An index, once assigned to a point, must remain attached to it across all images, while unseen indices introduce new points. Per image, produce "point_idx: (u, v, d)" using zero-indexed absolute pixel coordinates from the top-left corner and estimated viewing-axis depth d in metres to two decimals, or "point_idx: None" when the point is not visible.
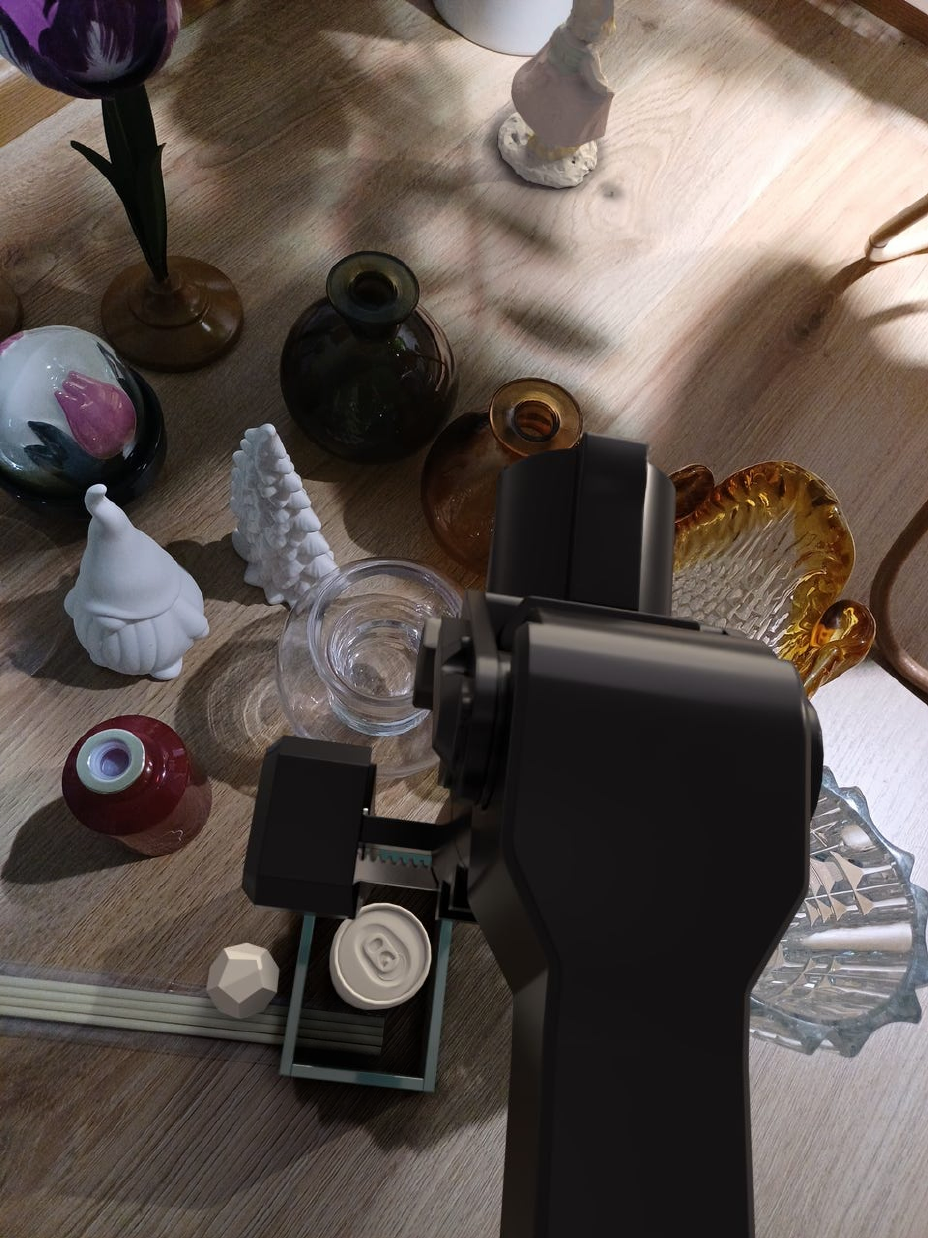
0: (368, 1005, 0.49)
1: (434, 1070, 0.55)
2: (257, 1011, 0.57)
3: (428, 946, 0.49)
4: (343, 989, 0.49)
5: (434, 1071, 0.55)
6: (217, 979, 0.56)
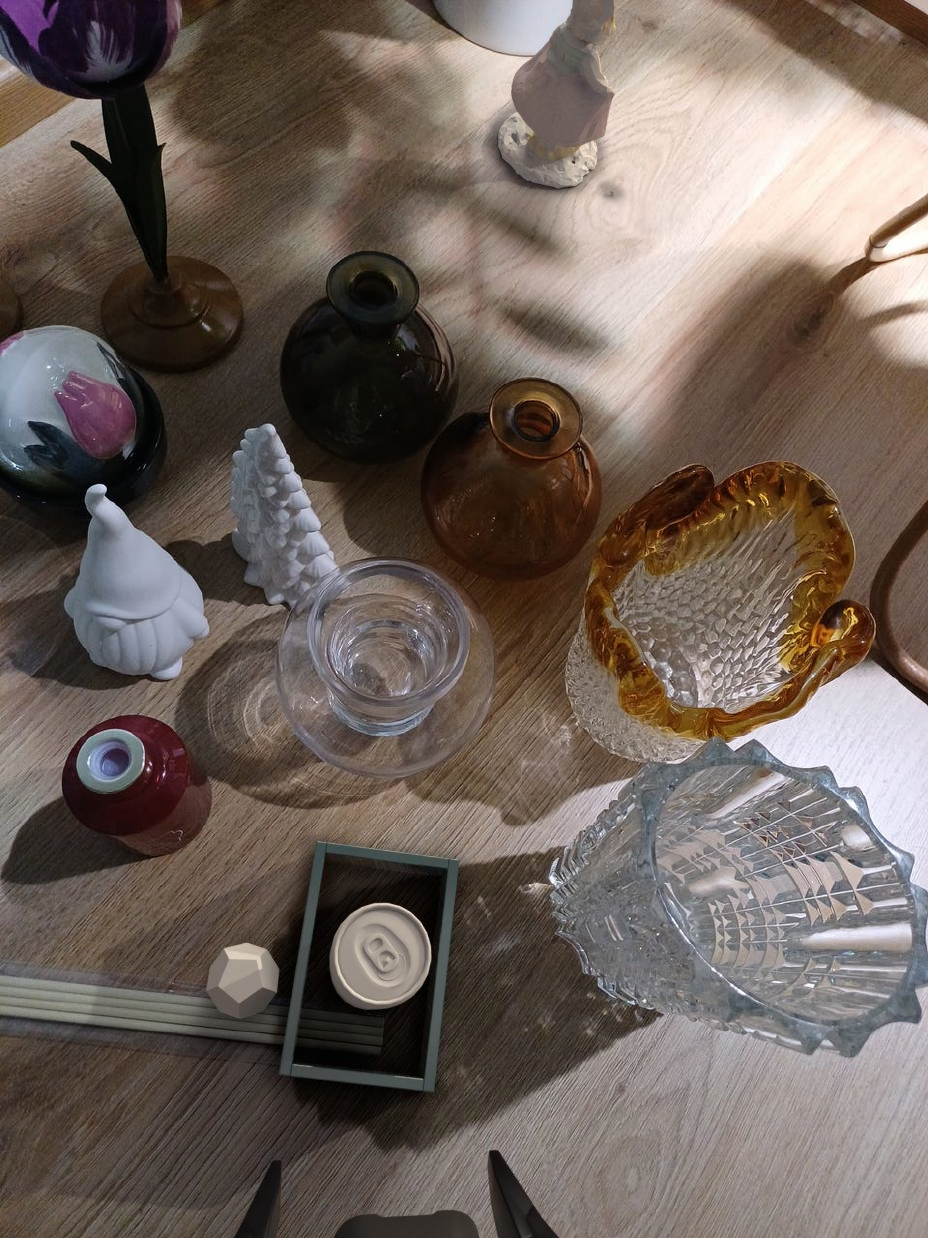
0: (368, 1005, 0.49)
1: (434, 1070, 0.55)
2: (257, 1011, 0.57)
3: (428, 946, 0.49)
4: (343, 989, 0.49)
5: (434, 1071, 0.55)
6: (217, 979, 0.56)
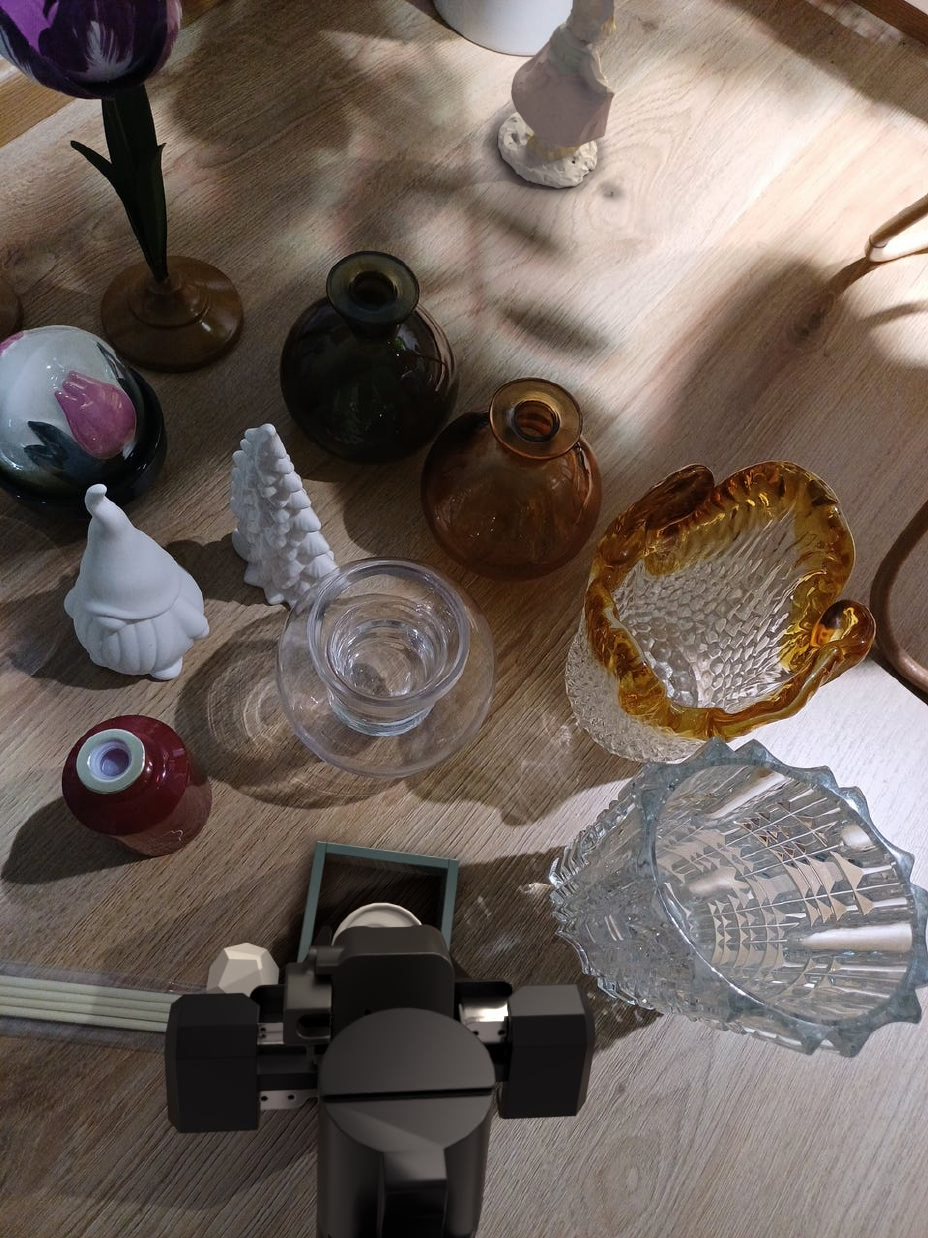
0: None
1: None
2: None
3: None
4: None
5: None
6: (217, 979, 0.56)
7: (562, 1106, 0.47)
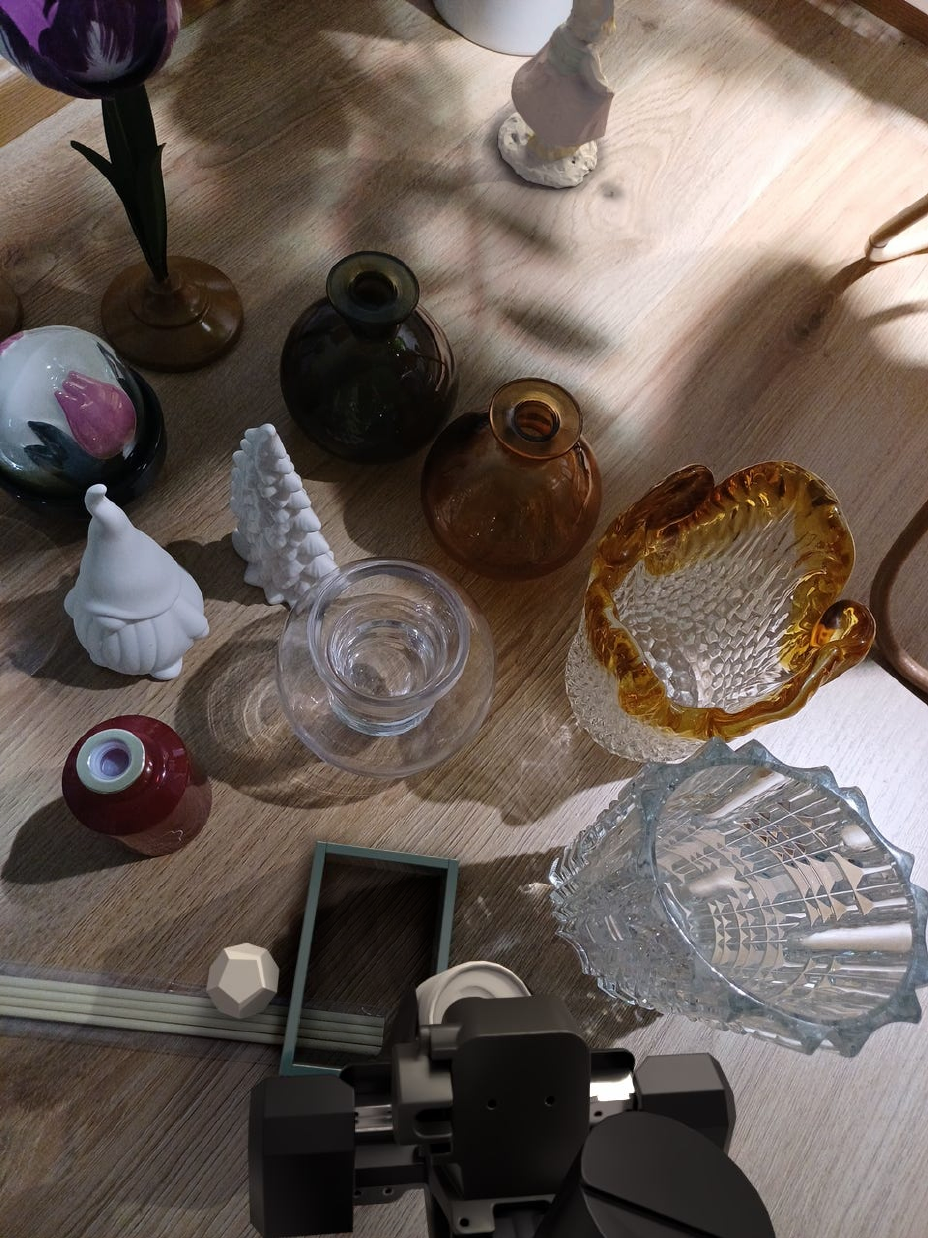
0: None
1: None
2: (257, 1011, 0.57)
3: None
4: None
5: None
6: (217, 979, 0.56)
7: None
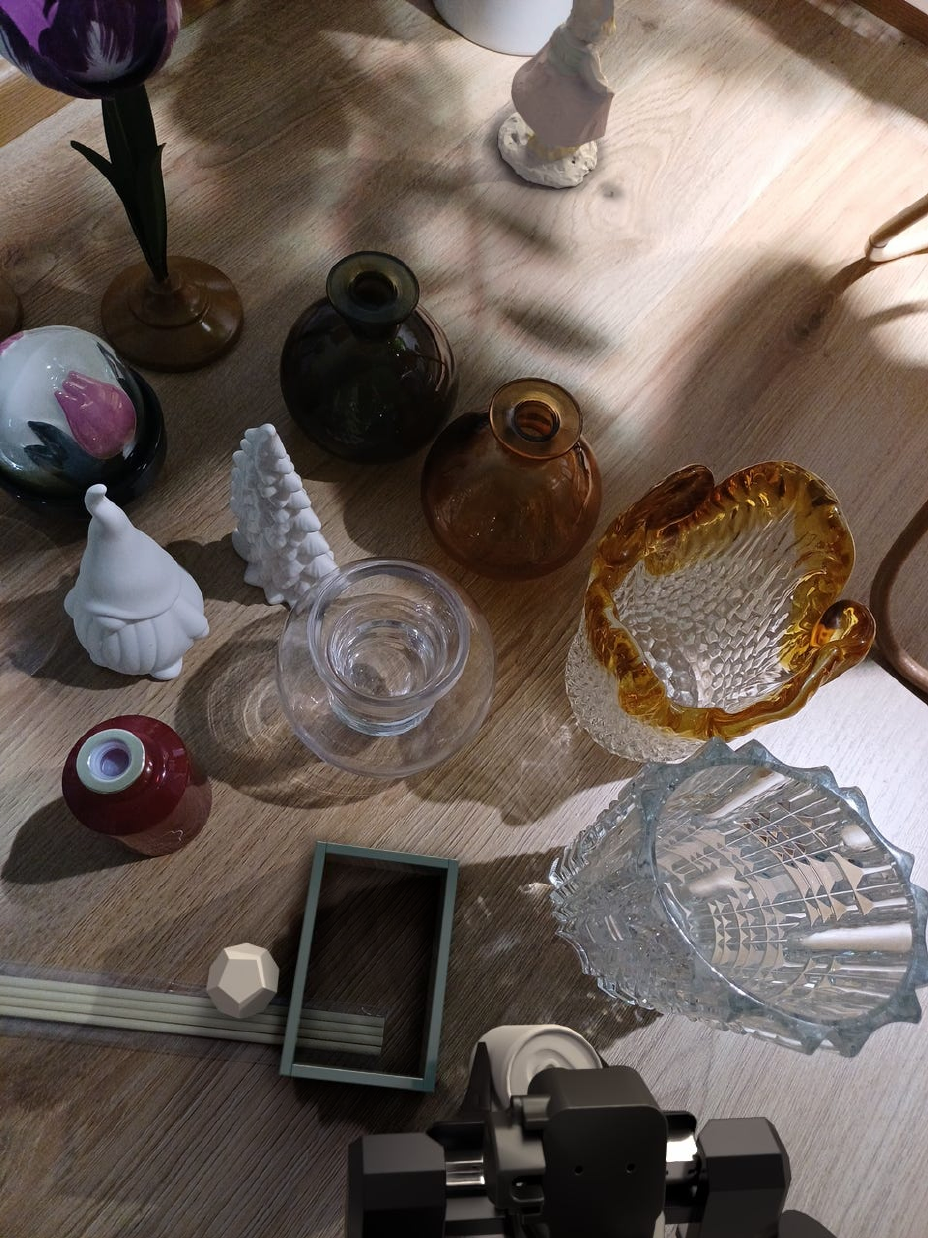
0: None
1: (434, 1070, 0.55)
2: (257, 1011, 0.57)
3: None
4: None
5: (434, 1071, 0.55)
6: (217, 979, 0.56)
7: None
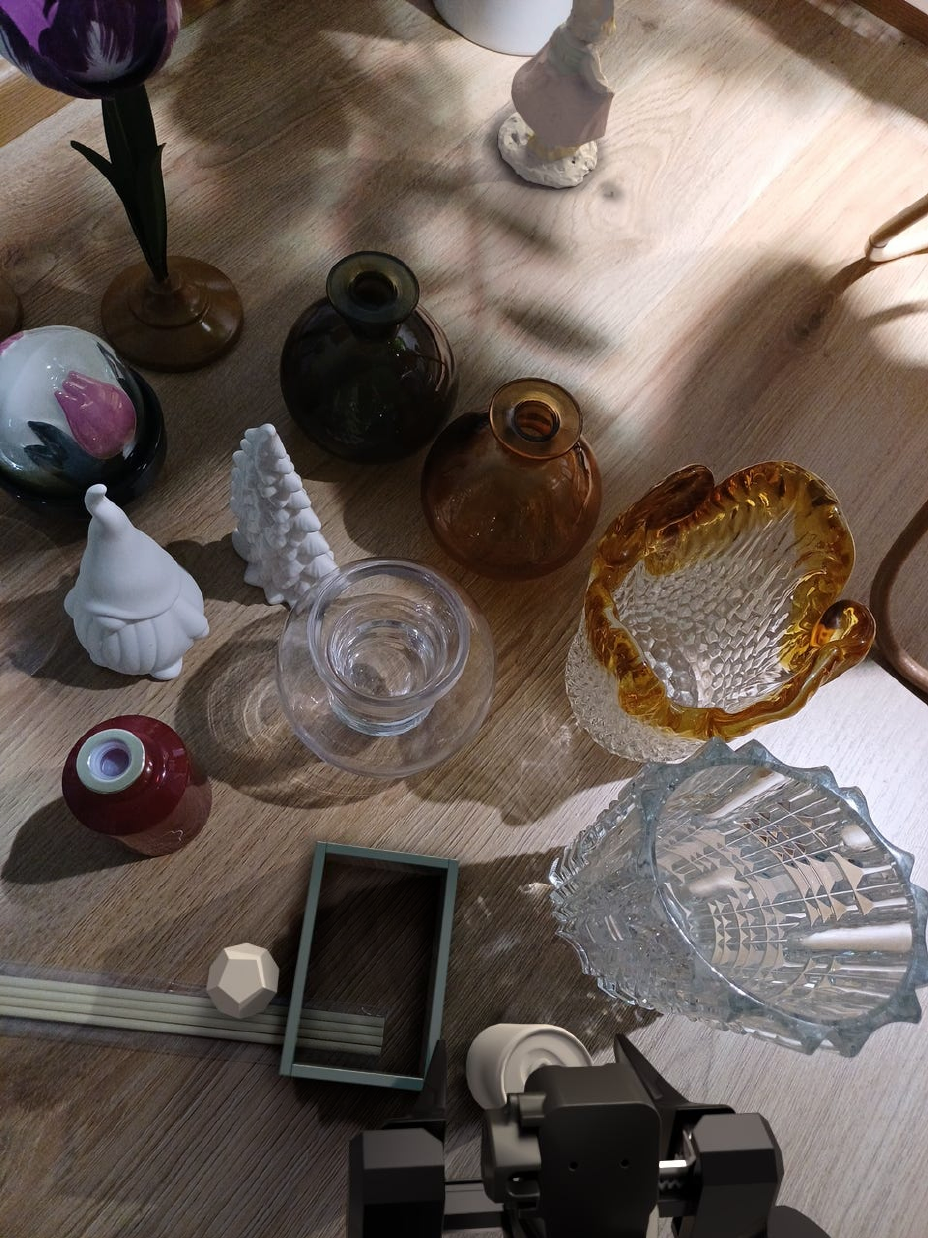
0: None
1: None
2: (257, 1011, 0.57)
3: None
4: None
5: None
6: (217, 979, 0.56)
7: None
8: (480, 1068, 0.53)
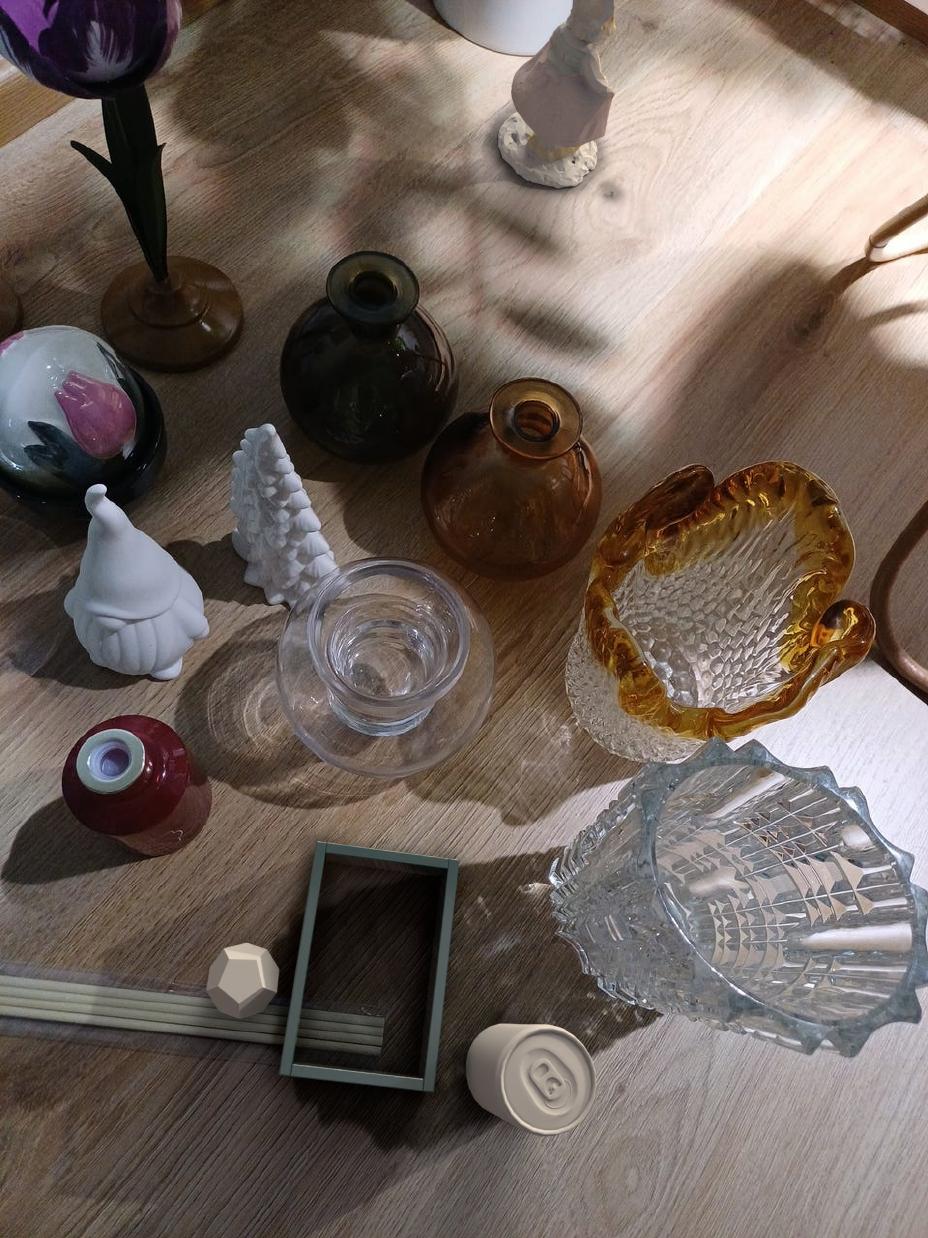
0: (535, 1133, 0.48)
1: (434, 1070, 0.55)
2: (257, 1011, 0.57)
3: (594, 1072, 0.48)
4: (509, 1117, 0.48)
5: (434, 1071, 0.55)
6: (217, 979, 0.56)
7: None
8: (480, 1068, 0.53)
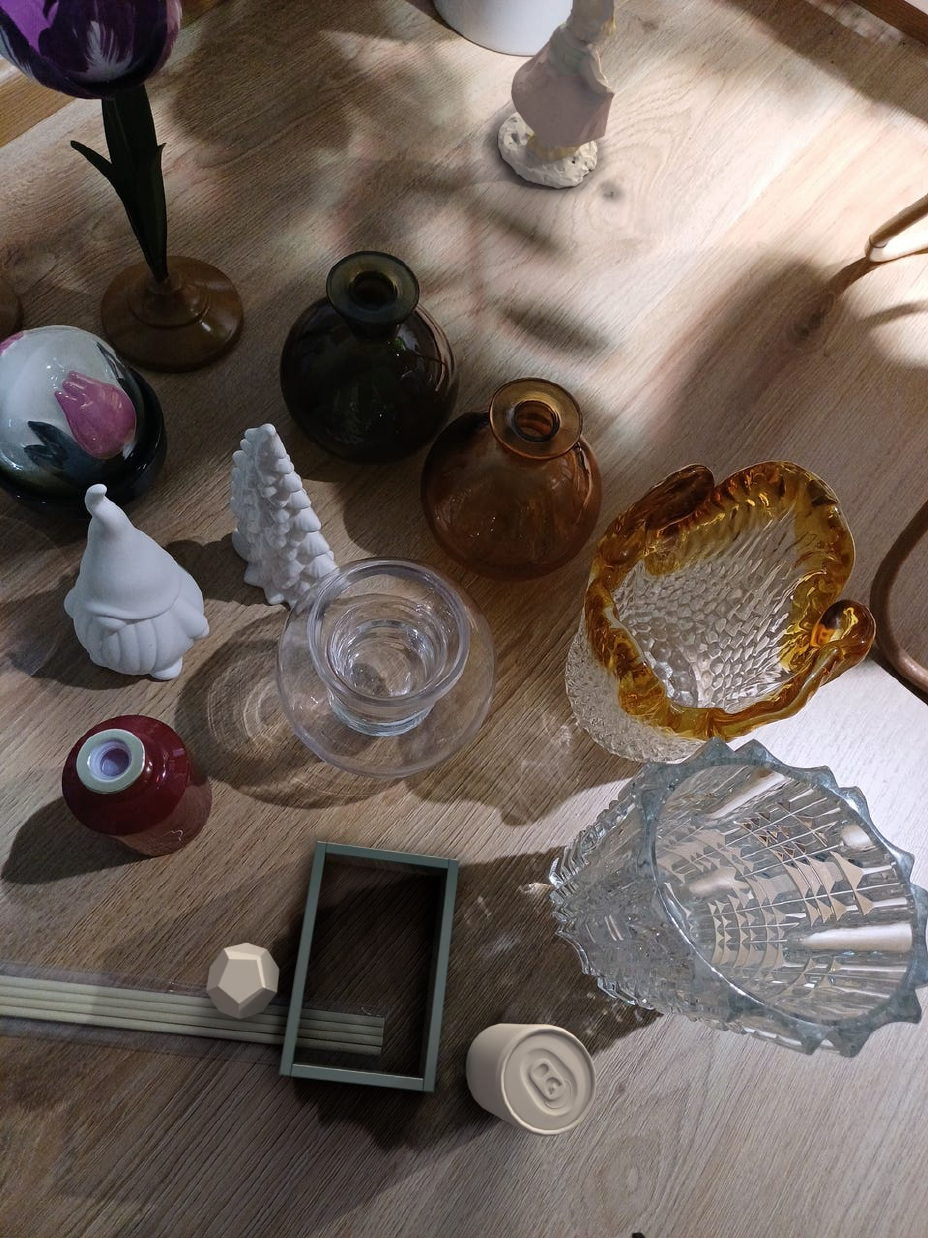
0: (535, 1134, 0.48)
1: (434, 1070, 0.55)
2: (257, 1011, 0.57)
3: (594, 1072, 0.48)
4: (509, 1117, 0.48)
5: (434, 1071, 0.55)
6: (217, 979, 0.56)
7: None
8: (480, 1068, 0.53)
